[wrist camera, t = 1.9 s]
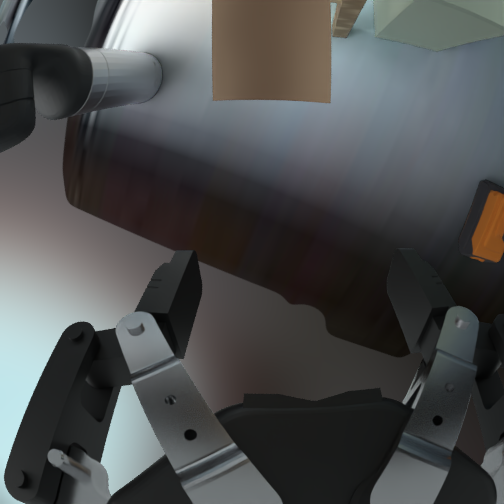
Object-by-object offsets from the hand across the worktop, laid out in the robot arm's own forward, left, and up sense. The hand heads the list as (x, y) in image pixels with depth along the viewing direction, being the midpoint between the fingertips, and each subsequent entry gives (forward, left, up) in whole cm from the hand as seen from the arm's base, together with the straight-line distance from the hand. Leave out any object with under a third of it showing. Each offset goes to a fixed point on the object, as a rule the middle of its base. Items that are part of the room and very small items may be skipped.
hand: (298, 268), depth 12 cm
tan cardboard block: (-1, +20, -3) cm, 20 cm away
